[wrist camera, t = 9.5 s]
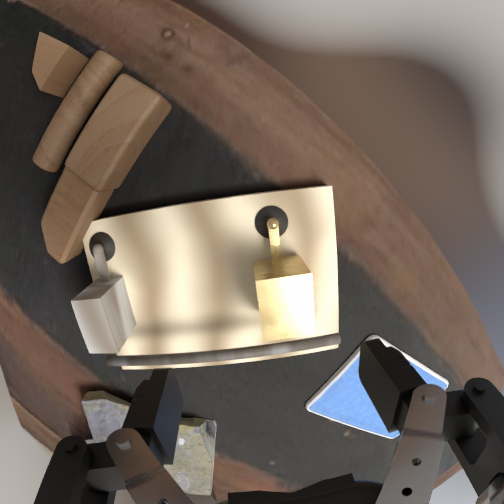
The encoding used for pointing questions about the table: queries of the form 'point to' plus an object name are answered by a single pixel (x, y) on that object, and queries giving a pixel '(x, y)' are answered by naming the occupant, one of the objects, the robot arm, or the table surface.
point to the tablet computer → (359, 395)
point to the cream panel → (203, 279)
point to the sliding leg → (283, 292)
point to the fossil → (187, 447)
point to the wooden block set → (88, 137)
